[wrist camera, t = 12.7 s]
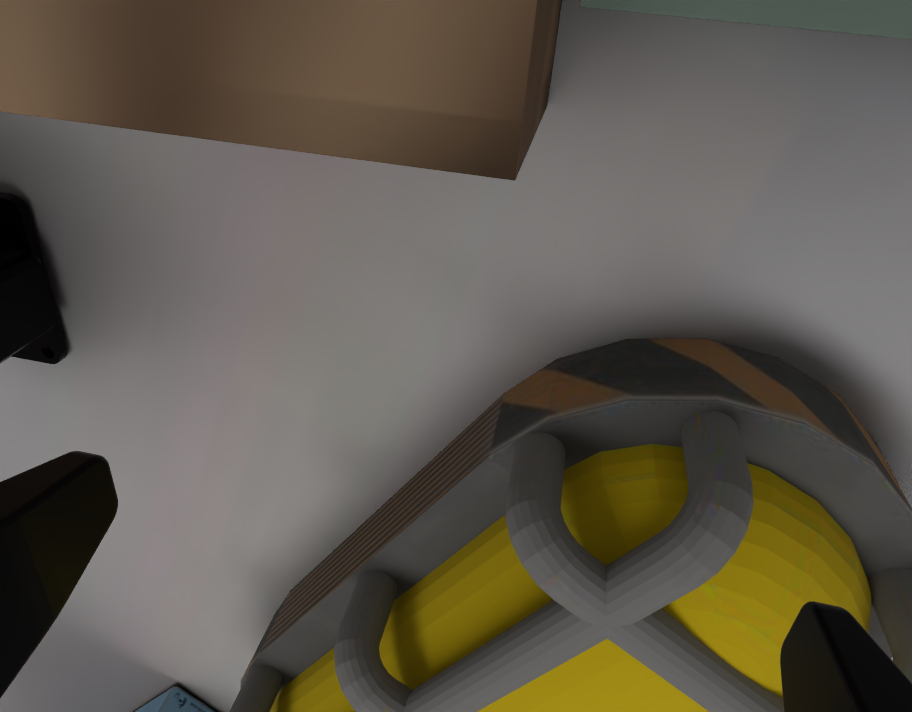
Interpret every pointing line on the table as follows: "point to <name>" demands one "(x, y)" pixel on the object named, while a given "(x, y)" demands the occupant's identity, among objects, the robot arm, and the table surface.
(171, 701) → the gum box
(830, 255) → the table surface
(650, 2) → the tray
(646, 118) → the table surface
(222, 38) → the brown open lidded box
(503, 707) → the cage light
